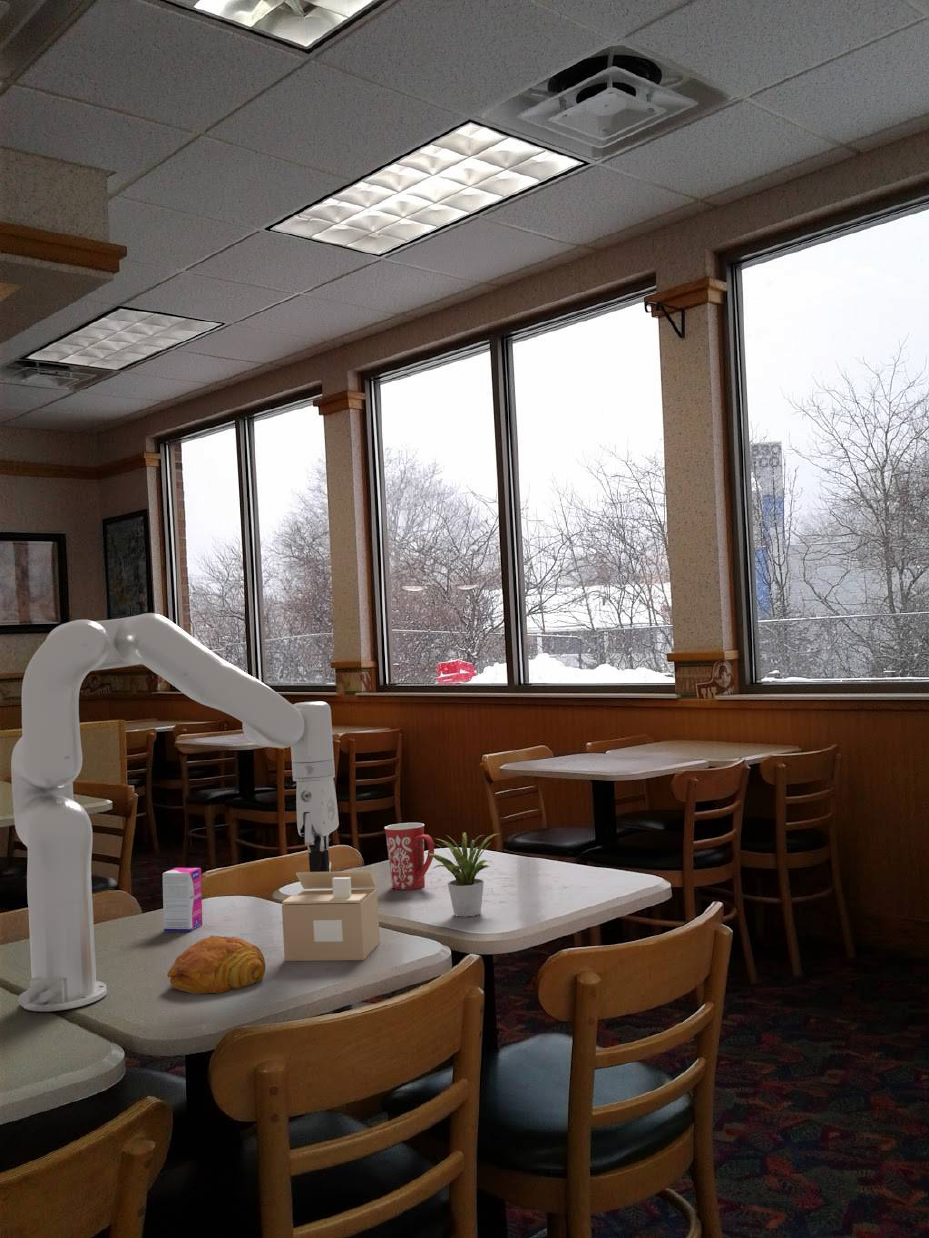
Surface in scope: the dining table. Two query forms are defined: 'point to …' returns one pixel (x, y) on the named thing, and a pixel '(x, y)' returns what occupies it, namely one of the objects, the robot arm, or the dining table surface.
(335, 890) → the flap near
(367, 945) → the carton
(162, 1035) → the dining table surface
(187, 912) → the supplement box
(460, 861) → the house plant
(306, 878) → the flap far
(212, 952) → the croissant
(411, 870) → the mug
